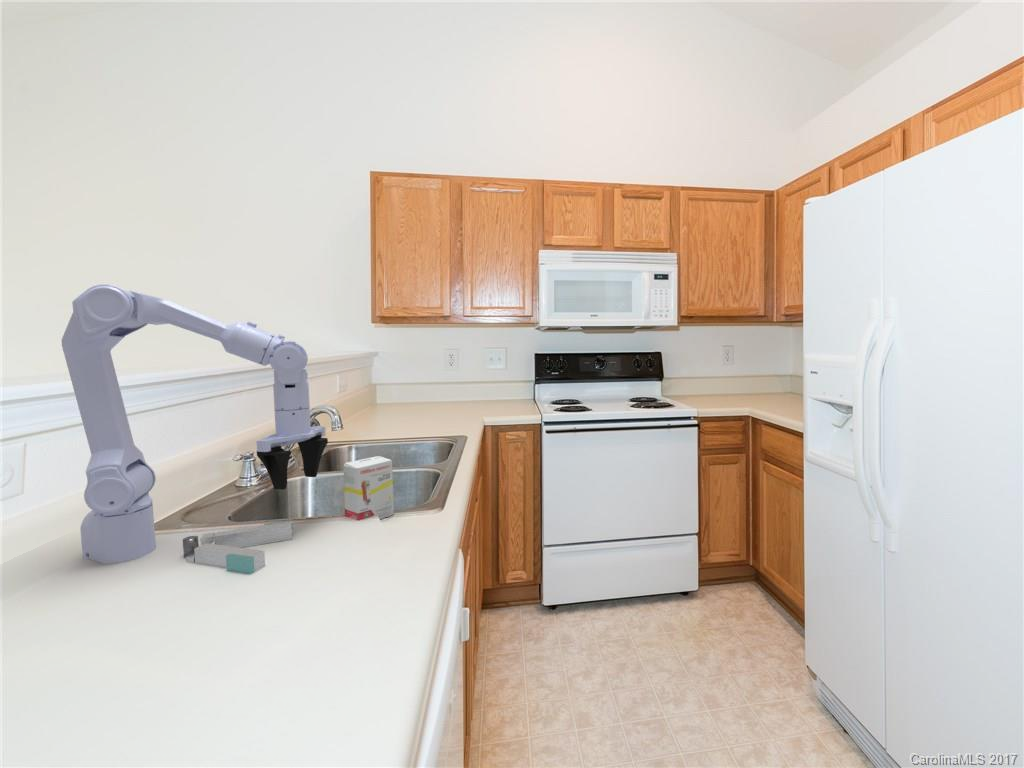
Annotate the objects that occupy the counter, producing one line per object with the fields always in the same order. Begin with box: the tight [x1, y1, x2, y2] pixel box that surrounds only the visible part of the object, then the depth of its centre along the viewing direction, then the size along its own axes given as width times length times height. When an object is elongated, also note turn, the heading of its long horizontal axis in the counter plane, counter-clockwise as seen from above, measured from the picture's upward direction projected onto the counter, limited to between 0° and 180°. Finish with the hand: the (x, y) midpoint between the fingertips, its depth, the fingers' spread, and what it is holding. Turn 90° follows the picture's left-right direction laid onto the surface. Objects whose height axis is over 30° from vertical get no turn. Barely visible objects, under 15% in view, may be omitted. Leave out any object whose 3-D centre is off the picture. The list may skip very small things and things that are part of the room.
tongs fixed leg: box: [182, 535, 266, 575], centre depth 69 cm, size 16×4×3 cm, turn 74°
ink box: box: [343, 455, 395, 521], centre depth 90 cm, size 9×5×12 cm, turn 141°
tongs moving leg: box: [200, 519, 294, 548], centre depth 76 cm, size 13×3×2 cm, turn 112°
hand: (296, 482), depth 82 cm, fingers open, 7 cm apart
